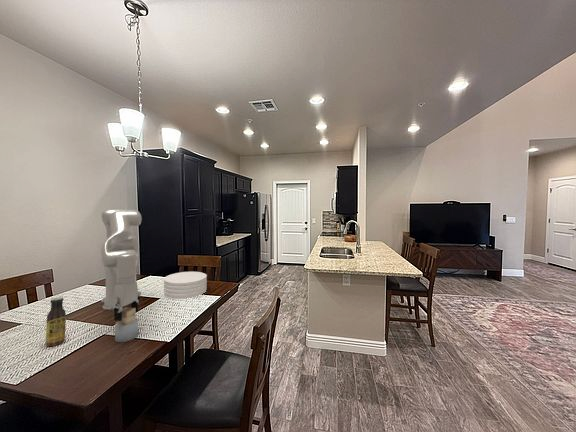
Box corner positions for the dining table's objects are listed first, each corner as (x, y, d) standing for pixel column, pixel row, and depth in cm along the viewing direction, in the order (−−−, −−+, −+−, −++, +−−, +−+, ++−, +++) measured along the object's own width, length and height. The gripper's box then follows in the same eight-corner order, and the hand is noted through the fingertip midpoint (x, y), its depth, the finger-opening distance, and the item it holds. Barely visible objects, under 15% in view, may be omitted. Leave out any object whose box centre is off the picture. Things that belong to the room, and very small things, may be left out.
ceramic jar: (110, 341, 111) (109, 326, 110) (125, 331, 120) (125, 317, 119) (127, 343, 110) (127, 327, 109) (142, 333, 118) (142, 318, 118)
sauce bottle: (48, 348, 104) (47, 302, 103) (43, 344, 107) (43, 299, 106) (68, 341, 109) (67, 298, 109) (63, 337, 113) (62, 295, 112)
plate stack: (202, 284, 193) (202, 269, 193) (210, 295, 169) (210, 279, 169) (162, 289, 179) (162, 274, 178) (165, 303, 155) (165, 285, 154)
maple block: (117, 324, 112) (117, 311, 112) (126, 319, 117) (126, 307, 117) (127, 325, 112) (127, 312, 111) (135, 320, 116) (135, 308, 116)
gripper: (133, 274, 123) (133, 307, 123) (102, 285, 105) (103, 323, 106) (147, 275, 122) (147, 308, 122) (118, 286, 104) (118, 325, 105)
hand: (126, 315), depth 114 cm, fingers open, 9 cm apart
